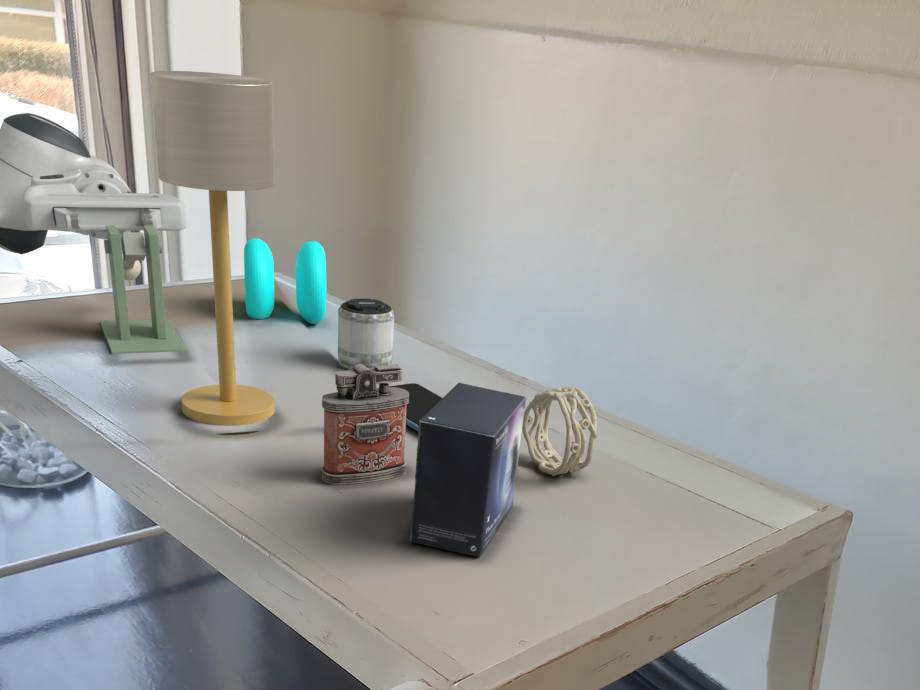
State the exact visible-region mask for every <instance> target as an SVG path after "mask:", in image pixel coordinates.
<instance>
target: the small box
mask: <svg viewBox="0 0 920 690" xmlns="http://www.w3.org/2000/svg"><path fill="white" fill-rule="evenodd" d="M526 401H527V397H526V396H524V395H519V394H514V393H510V392H505V391H499V390H495V389H490V388H485V387H482V386H477V385H472V384H467V383H463V382H458V383H457V384H456V385H455V386H453V388H451V389H450V390H449V391H448V392H447V394H445V395H444V396H443V397H442V399H441V400H440V401H439V402H438V403H437V404H436V405H435V406H434V407H433V408H432V409H431V410H430V411H429V412H428V413H427V414H426V415H425V416H424V417H423V418H422V419H421V420H420V421H419V431H417V446H416V460H415V461H416V463H415V474H414V491H413V503H412V504H413V506H412V516H411V525H410V535H409V542H410V543H414V544H418V545H423V546H428V547H431V548H437V549H441V550H446V551H450V552H454V553H459V554H464V555H466V556H467V555H468V556H473V557H477V558H480V557H481V556H483V554H484V553H485V551H486V549H487V547H488V546H489V545H490V543H491V541H492V540H493V539H494V537H495V535H496V534H497V532H498V531H499V529H500V528H501V526H502V524H503V523H504V522H505V521H506V519H507V517H508V515H509V514H510V512H511V511H512V509H513V505H514V499H515V498H514V497H515V492H516V491H515V489H516V481H517V475H518V466H519V459H520V458H519V457H520V450H521V449H520V448H521V442H522V434H523V431H522V426H523V418H524V412H525V410H526Z"/></svg>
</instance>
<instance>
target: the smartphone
mask: <svg viewBox="0 0 920 690" xmlns="http://www.w3.org/2000/svg"><path fill="white" fill-rule="evenodd" d="M389 387H396V388H401V389H405V390H406V391H408V392H409V403H408V404H407V407H406V426H408V427H409V428H411V429H413V430H415V431H416V432H418V431H419V421H420V420H421V419H422V418H423V417H424V416H425V415H426V414H427V413H428V412H429V411H430V410H431V409H432V408H433V407H434V406H435V405H436V404H437V403H438V402H439V401H440V400H441V399H442V398H443V397H442V396H440V395H438V394H437V393H435V392H433V391H432V390H430V389H427V388H426V387H424V386H423V385H421V384H418V383H413V382H412V383H403V384H397V385H389Z"/></svg>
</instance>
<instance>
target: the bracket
mask: <svg viewBox="0 0 920 690" xmlns="http://www.w3.org/2000/svg"><path fill="white" fill-rule="evenodd" d="M143 228H144V230H143V235H144V242H145V249H146V257H145V260H146V272H147V283H148V295H149V306H150V316H151V317H150V318H151V319H149V318H148V319H130V318H129V309H128V302H127V301H128V300H127V291H126V290H127V289H126V280H125V279H124V270H123V260H122V252H123V251H122V244H121V235H120V233H119V232H118V230H117V228H116V226H115V225H106V233H107V239H103V246H104V253H105V254H108V259H109V260H108V261H109V269H110V278H111V279H110V280H111V287H112V297H113V307H114V315H115V319H114V320H113V319H112V320H110V319H109V320H100V321H99V324H100V327H101V330H102V332H103V335H104V337H105V339H106V343H107V345H108V348H109V350H110V353H111V354H112V355H122V354H147V353H148V354H149V353H152V354H153V353H176V352H178V353H179V352H187V350H186V349H187V348H186V347H185V345H184V344H183V342H182V340H181V338H180V336H179V335H178V333H177V331H176V330H175V327H174V326H173V323H172V322H171V320H170V319H169V318H166V313H165V302H164V301H165V300H164V290H163V289H164V288H163V277H162V264H161V254H163V246H162V243H163V242H162V240H161V239H159V234H158V232H157V231H155V229H154V228H153V226H143Z"/></svg>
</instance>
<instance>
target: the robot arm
mask: <svg viewBox="0 0 920 690" xmlns="http://www.w3.org/2000/svg"><path fill="white" fill-rule="evenodd" d="M106 225H115V226H116V228H117V230H118V232H119V233H120V236H122V233H123V232H128V231H144V228H143V226H153V228H154V229H155V231H156V232H157V231H159V232H160V231H162V232H163V231H166V232H167V231H171V232H172V231H175V232H176V231H183V230H185V229H186V228H187V215H186V207H185V203H184V202H183V201H182V200H181V199H179V197H176V196H174V195H171V194H167V193H151V192H150V193H149V192H148V193H147V192H144V193H143V192H132V190H131V189H130V187H129V185H127V183H126V182H125V180H124V179H123V178H122V176H121V175H120V173H119V172H118V171H117V169H115V168H114V167H113V166H112V165H111V164H109V162H107V161H105V160H104V159H102V158H99V157H97V156H94V155H91V154H90V151H89V150H88V147H87V146H86V145H85V143H84V141H83V140H82V138H80V137H79V136H78V135H76V134H75V133H73V132H72V131H70V130H68V129H67V128H65V127H64V126H62V125H61V124H58V123H56V122H55V121H52V120H51V119H48V118H46V117H44V116H40V115H38V114H35V113H30V112H24V113H17V114H12V115H9V116H7V117H4V118H3V121H2V123H1V126H0V249H2V250H4V251H7V252H10V253H15V254H19V255H25V254H28V253H32V252H34V251H36V250H38V249H40V248H42V247H44V245H45V242H46V238H47V235H48V232H49V231H58V232H71V233H75V234H80V235H83V236H90V237H93V238H96V239H101V240H107V233H106Z"/></svg>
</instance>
